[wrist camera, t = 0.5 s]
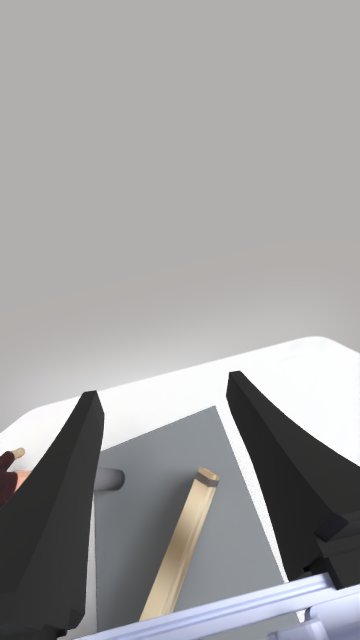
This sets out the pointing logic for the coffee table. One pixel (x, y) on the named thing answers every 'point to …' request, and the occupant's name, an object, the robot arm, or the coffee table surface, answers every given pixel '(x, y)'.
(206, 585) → the gate frame
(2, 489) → the grandmother figurine
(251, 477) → the coffee table surface
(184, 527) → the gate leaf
